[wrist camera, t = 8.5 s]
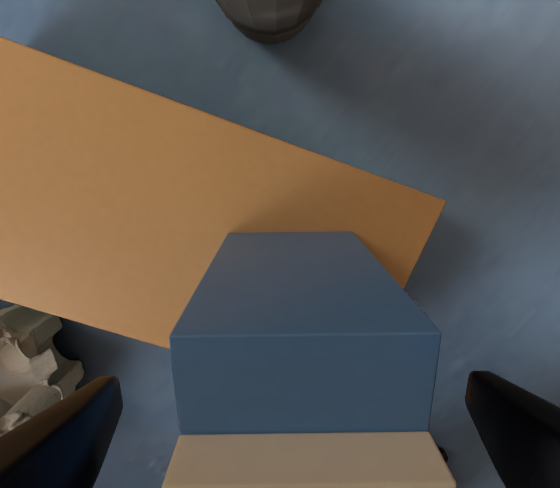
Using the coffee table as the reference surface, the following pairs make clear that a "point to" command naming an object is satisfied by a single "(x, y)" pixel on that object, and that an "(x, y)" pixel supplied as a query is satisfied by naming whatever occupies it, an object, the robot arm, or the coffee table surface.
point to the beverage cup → (269, 17)
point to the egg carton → (31, 366)
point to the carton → (303, 371)
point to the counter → (159, 197)
